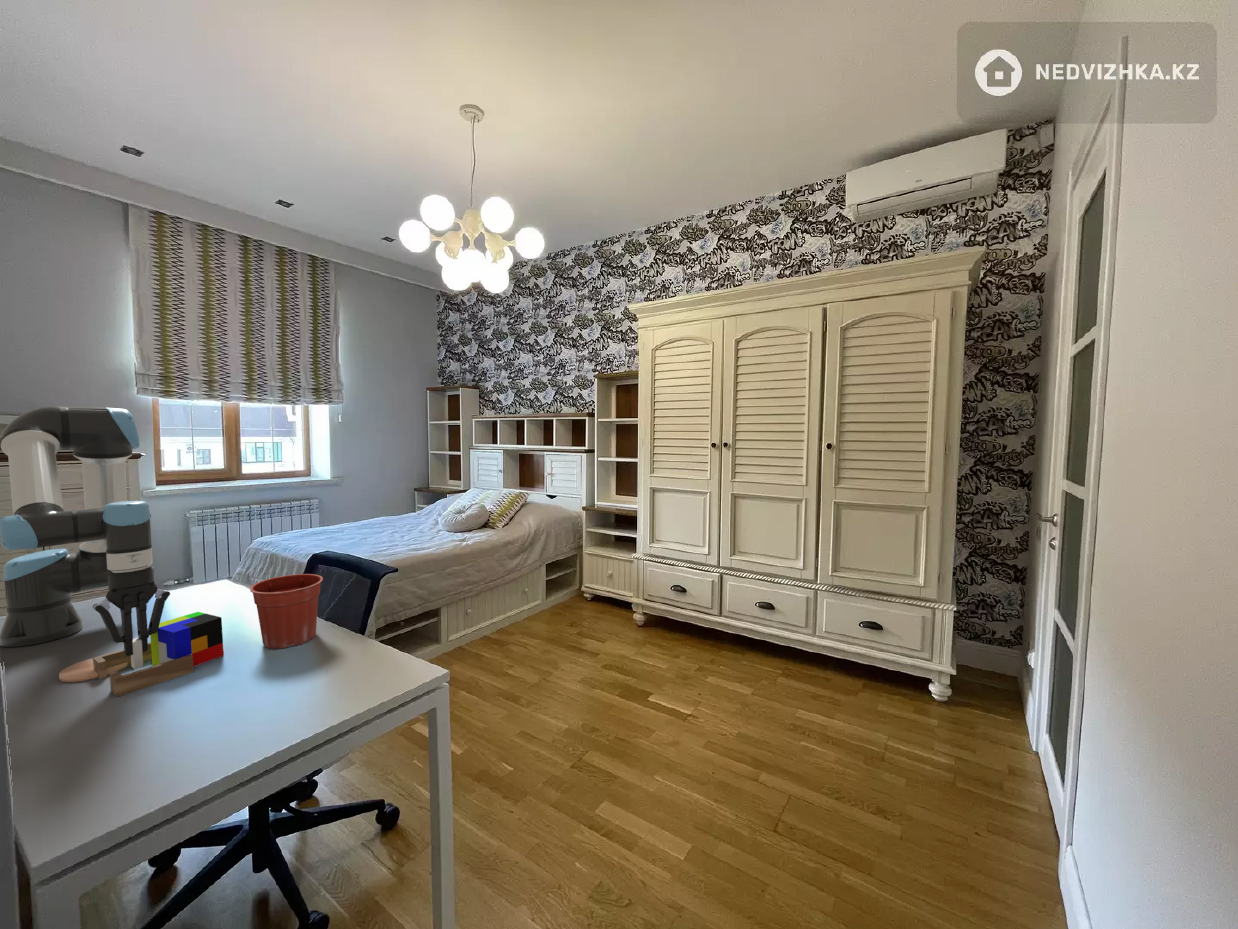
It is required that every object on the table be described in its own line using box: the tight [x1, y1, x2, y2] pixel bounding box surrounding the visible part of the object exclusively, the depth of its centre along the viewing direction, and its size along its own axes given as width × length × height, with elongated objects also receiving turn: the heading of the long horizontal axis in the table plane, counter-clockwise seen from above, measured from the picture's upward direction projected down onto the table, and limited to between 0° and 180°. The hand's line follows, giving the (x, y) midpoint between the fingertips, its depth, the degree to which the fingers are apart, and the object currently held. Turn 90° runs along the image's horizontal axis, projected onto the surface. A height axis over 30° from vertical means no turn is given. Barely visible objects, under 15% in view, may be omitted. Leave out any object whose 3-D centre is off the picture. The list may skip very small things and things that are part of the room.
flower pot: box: [249, 573, 324, 650], centre depth 133 cm, size 16×16×16 cm
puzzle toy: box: [149, 611, 225, 668], centre depth 121 cm, size 10×10×10 cm
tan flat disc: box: [58, 657, 129, 683], centre depth 117 cm, size 12×12×1 cm
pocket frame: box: [92, 641, 195, 698], centre depth 115 cm, size 18×13×4 cm
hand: (137, 666), depth 114 cm, fingers closed
